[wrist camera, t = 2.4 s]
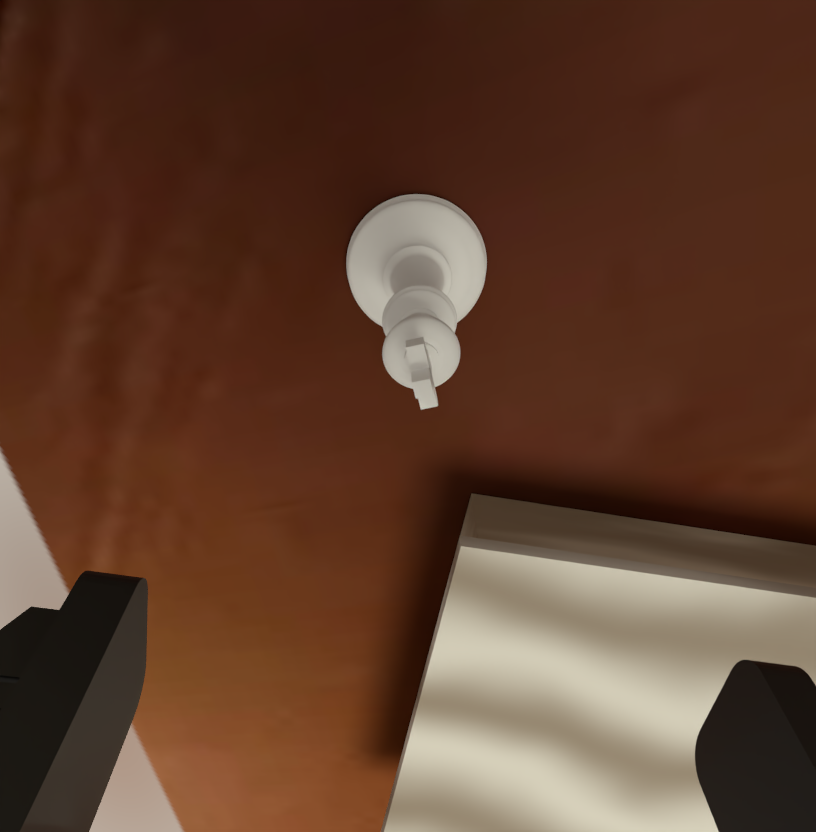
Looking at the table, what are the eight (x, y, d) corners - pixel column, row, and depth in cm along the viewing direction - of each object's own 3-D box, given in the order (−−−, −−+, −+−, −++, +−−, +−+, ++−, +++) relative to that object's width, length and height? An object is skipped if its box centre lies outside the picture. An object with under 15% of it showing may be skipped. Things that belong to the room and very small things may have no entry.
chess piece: (472, 178, 25) (510, 264, 16) (497, 315, 27) (542, 457, 18) (329, 211, 25) (290, 313, 16) (365, 343, 28) (347, 494, 19)
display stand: (452, 469, 30) (460, 546, 26) (866, 533, 32) (941, 616, 27) (379, 761, 38) (376, 858, 34) (711, 801, 40) (749, 898, 35)
